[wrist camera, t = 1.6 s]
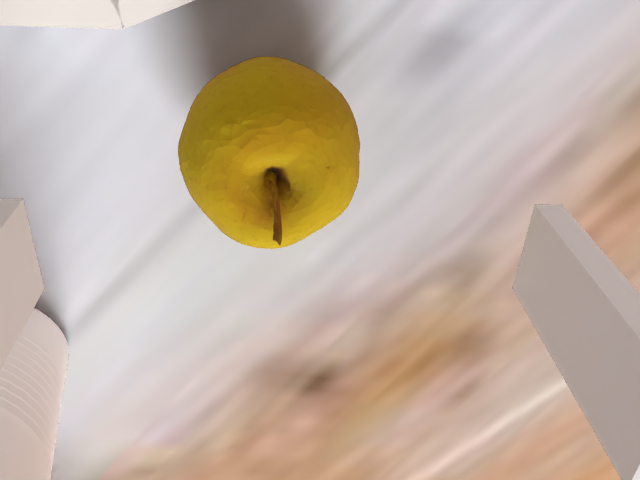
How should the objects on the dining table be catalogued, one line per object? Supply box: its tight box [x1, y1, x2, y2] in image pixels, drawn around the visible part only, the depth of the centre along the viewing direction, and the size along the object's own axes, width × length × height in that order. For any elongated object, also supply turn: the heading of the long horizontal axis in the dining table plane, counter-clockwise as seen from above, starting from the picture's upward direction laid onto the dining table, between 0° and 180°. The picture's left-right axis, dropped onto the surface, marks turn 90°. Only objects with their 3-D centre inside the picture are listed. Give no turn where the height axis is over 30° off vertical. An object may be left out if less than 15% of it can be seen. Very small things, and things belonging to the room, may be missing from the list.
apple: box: [178, 57, 360, 249], centre depth 21 cm, size 6×6×8 cm
